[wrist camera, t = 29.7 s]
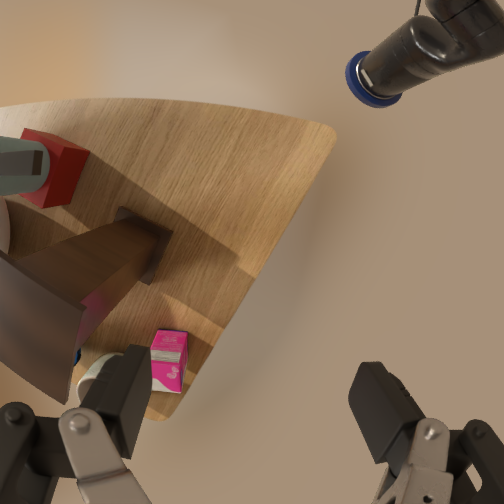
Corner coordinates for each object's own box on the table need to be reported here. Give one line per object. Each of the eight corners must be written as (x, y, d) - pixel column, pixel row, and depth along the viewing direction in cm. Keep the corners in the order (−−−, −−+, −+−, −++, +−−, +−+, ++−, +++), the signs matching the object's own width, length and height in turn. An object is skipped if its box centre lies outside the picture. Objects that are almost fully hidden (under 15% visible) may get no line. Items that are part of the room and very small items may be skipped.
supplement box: (189, 357, 53) (181, 395, 41) (159, 354, 52) (145, 390, 41) (189, 330, 51) (180, 366, 40) (157, 327, 51) (141, 361, 40)
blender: (52, 133, 42) (-34, 117, 19) (90, 151, 43) (4, 136, 21) (33, 183, 43) (-54, 191, 21) (69, 203, 45) (-19, 221, 22)
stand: (122, 205, 46) (-16, 243, 15) (173, 231, 47) (82, 311, 16) (102, 258, 47) (-21, 343, 16) (151, 283, 49) (64, 405, 18)
